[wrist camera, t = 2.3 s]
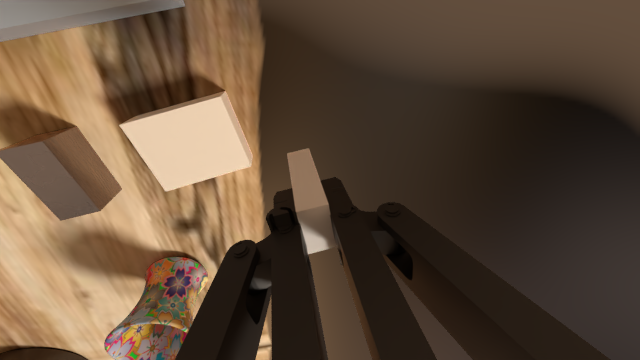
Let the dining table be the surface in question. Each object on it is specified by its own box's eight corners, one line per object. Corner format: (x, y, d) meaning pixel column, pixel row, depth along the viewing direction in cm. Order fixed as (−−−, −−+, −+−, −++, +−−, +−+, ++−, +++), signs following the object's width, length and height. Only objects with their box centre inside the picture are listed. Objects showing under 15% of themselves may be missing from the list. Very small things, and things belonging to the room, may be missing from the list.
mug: (142, 249, 34) (96, 324, 25) (212, 251, 37) (194, 320, 28) (149, 303, 40) (114, 381, 30) (210, 302, 42) (194, 373, 33)
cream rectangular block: (175, 176, 30) (165, 191, 27) (136, 115, 26) (119, 125, 23) (252, 154, 31) (251, 166, 28) (225, 90, 27) (220, 96, 24)
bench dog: (88, 197, 29) (60, 220, 25) (36, 135, 25) (-6, 151, 21) (122, 188, 29) (100, 210, 26) (76, 126, 25) (42, 141, 21)
